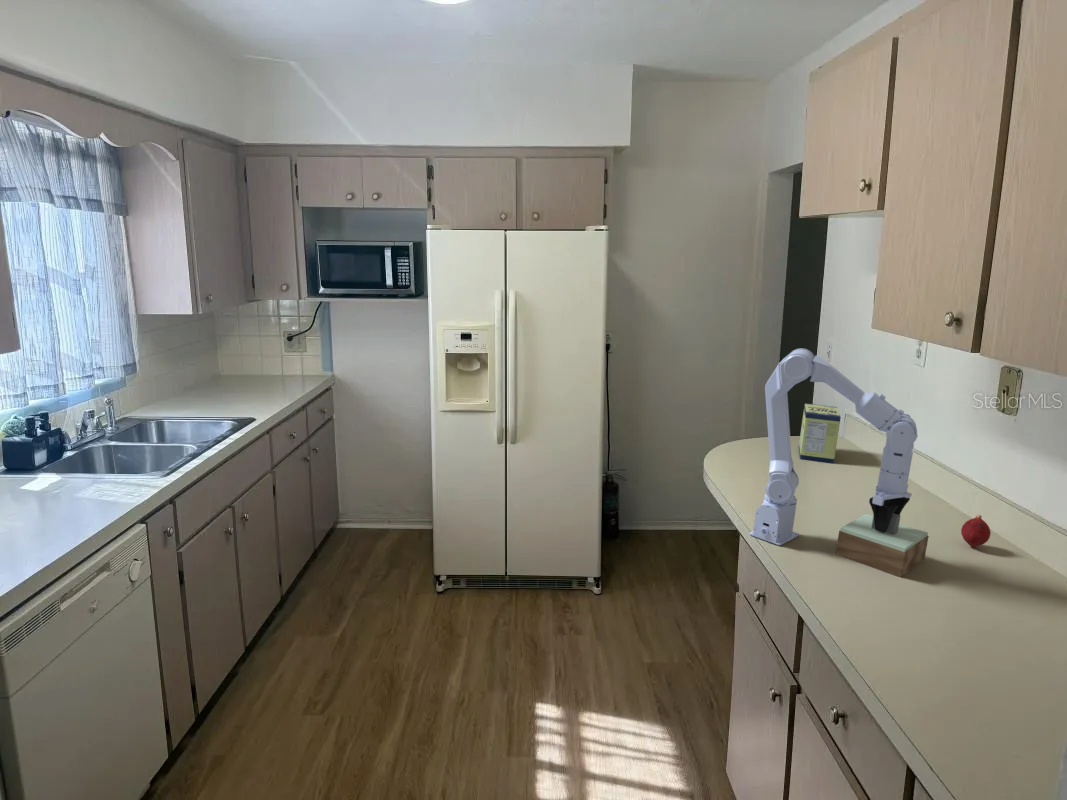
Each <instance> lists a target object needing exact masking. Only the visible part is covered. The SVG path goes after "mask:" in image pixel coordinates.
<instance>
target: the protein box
mask: <svg viewBox="0 0 1067 800" xmlns="http://www.w3.org/2000/svg"><path fill="white" fill-rule="evenodd" d="M803 407H804V408H803V414H802V420H801V428H800V435H799V441H798V453H799V454H798V455H799V459H800V460H805V461H806V460H807V461H813V462H814V461H815V462H822V463H830V464H834V463H835V457H836V450H837V444H838V436H839V430H840V424H841V414H840V411H839V409H838V407H837V406H830V405H821V404H813V403H806V402H805V403H804V405H803Z"/></svg>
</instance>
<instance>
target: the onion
mask: <svg viewBox="0 0 1067 800" xmlns="http://www.w3.org/2000/svg"><path fill="white" fill-rule="evenodd" d="M982 517H983V516H982V515H980V514H976V516H975V517H974V518H970V519H968V520H967V521H965V522H964V524H963V525H962V526H961V531H960V532H961V536H962V539H963V541H965V543H966V544H968V545H969V546H970V547H971V548H976V547H979V546H983V545H985V544H986V543H987V542H989V540H990V538H991V529H990V526H989V525H988V524H987V522H986V521H985V520H983V519H982Z"/></svg>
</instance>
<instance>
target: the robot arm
mask: <svg viewBox="0 0 1067 800" xmlns="http://www.w3.org/2000/svg"><path fill="white" fill-rule="evenodd" d="M809 377H811V378H810V380H809V382H811V383H812V382H813V383H824V384H826V385H827V386H829V387H830V388H832V389H834V391H836V392H837V393H839V394H840V395H842V396H843V397H844V398H846V399H848V400H849V401H850V402H852V403H853V404H854V405H855V413H856V414H857V415H858V416H860V417H862V419H864V420H866V421H867V422H868V423H870V424H871V425H872V426H873V427H875V428H876V429H877V430H878V431H881V432H883V433H885V435H886V439H885V440H886V441H885V446H884V447H883V450H882V456H881V457H882V458H881V462H880V467H879V475H878V481H877V485H876V486H875V492H874V494H873V496H872V497H870V498H869V501H868V503H869V505H870V507H871V511H872V514H873V515H872V516H874V524H875V530H877V531H880V532H883V533H885V532H886V531H887V529H888V526H889V523H890V520H891V517H892V515H893V513H894V514H897V515H901V513H902V511H903V510H904V508H905V506H906V505H907V504H908V502H910V501H911V500H910V499H911V498H912V495H913V494H912V492H908V489H909V488H908V487H909V483H908V482H909V476H910V471H911V466H912V460H913V455H914V454H913V449H914V447H915V444H914V443H915V442H916V441H917V439H918V429H917V424H916V422H915V420H914V419H913V418H912V417H911V416H910V414H909V413H908V414H907V413H905V411H904V410H903V409H901V408H900V409H898V408H896V407H894V406H893V405H892V404H891V403H890V402H889V401H887V400H886V395H884V394H882V393H879V394H878V393H877V392H874V391H873V392H872V391H871V392H870V391H869V392H865V391H864V390H862V389H861V388H860V387H859V386H858V385H856V384H855V383H854V382H853V381H851V380H850V379H849V378H848V377H846V376H845V375H844V374H843V373H842V372H840V371H839V370H838V369H837V368H835V367H834V366H833V365H832V364H830V363H829V362H828V361H826V360H825V359H823V358H822V357H820V356H818V355H814V353H813V352H812V351H810V350H809V349H807V348H796V349H794V350H792V351H791V352H789V353H788V354H787V355H786V356H784V357H783V358H782V360H781V361H780V362H778V364H777V366H776V367H775V369H774V370H773V372H772V374H771V375H770V377H769V378H768V379H767V380H766V381H767V382H766V383H765V386H764V394H765V395H764V396H765V407H766V409H765V410H766V421H767V422H766V425H767V434H768V435H767V436H768V450H769V468H768V481H767V483H766V484H765V494H764V497H763V502H762V503H761V505H759V506H758V507H757V509H756V511H755V514H754V515H755V516H754V522H753V523H754V525H753V530H752V531H750V532H749V535H750V536H752V537H755V538H758V539H761V540H763V541H766V542H769V543H771V544H774V545H777V546H782V545H784V544H786V543H788V542H789V541H792V540H794V539H796V538H797V537H799V536H800V533H799V532H795V531H794V524H795V517H796V511H797V502H798V499H797V497H796V496H795V493H796V489H797V488H798V486H799V481H800V479H799V476H798V474H797V472H796V470H795V467H794V461H793V457H792V445H791V444H792V442H791V428H790V414H789V412H790V411H789V401H788V400H789V399H788V398H789V397H788V392H789V391H790V390H791V389H792V388H793V387H794V386H795V385H797V384H799V383H801V382H803V381H805V380H807V379H808V378H809Z"/></svg>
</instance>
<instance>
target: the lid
mask: <svg viewBox="0 0 1067 800" xmlns="http://www.w3.org/2000/svg"><path fill="white" fill-rule="evenodd" d="M900 522H901V514H900V515H897V514H894V513H893V515H892V517H891V520H890V523H889V526H888V529H887V531H886V532H885V533H883V532H880V531H877V530H875V524H874V515H871V514H868V513H864V514H863V515H861V516H860V517H857V518H856V519H854V520H852V521H850V522H848V523H847V524H845V525H843V526H841V527H840V530H841V531H842V532H845V533H848V534H851V535H854V536H857V537H860V538H863V539H866V540H869V541H872V542H875V543H878V544H881V545H884V546H887V547H890V548H893V549H896V550H899V551H902V552H905V551H907V550H908V549H910V548H911V547H912V546H914V545H915V544H917V543H918V542H920V541H921V540H922V539H924V538H925V537H927V536H929V535H928V534H929V532H928V531H924V530H921V529H917V528H914V527H911V526H907V525H904V524H902V523H900Z"/></svg>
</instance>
